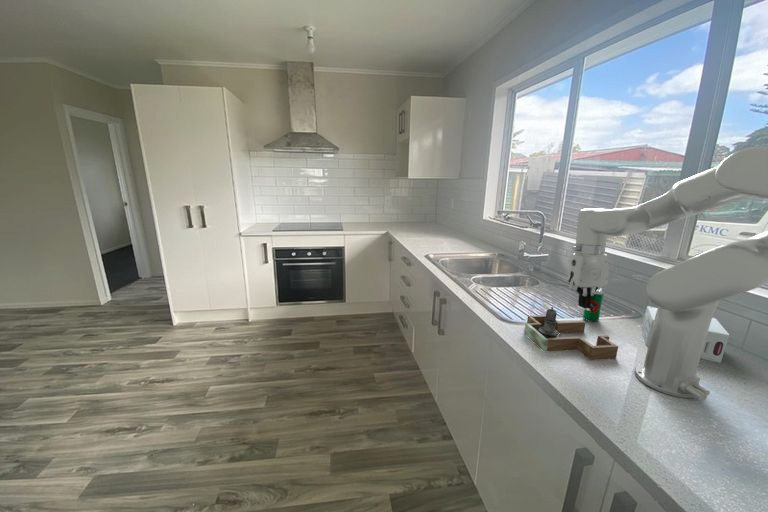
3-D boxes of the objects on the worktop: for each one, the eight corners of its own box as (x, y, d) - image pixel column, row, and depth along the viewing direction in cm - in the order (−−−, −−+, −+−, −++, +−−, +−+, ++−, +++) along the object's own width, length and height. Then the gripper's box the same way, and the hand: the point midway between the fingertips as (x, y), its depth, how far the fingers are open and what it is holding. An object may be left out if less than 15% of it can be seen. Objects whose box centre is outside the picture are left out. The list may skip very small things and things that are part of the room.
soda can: (601, 322, 111) (607, 291, 108) (588, 322, 112) (593, 291, 109) (592, 316, 116) (598, 287, 113) (579, 316, 116) (584, 287, 114)
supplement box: (645, 346, 96) (651, 319, 93) (640, 329, 106) (646, 305, 104) (721, 364, 86) (731, 334, 84) (708, 344, 97) (716, 317, 95)
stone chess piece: (558, 347, 95) (564, 312, 92) (537, 343, 97) (542, 308, 94) (556, 338, 100) (561, 305, 97) (536, 335, 102) (541, 302, 100)
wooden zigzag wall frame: (622, 358, 89) (624, 346, 88) (554, 362, 87) (556, 349, 86) (571, 324, 110) (572, 314, 109) (516, 326, 108) (517, 316, 107)
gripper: (575, 252, 87) (570, 312, 91) (623, 250, 88) (616, 309, 92) (558, 248, 94) (554, 304, 98) (603, 246, 96) (597, 301, 99)
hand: (584, 306), depth 95 cm, fingers closed
